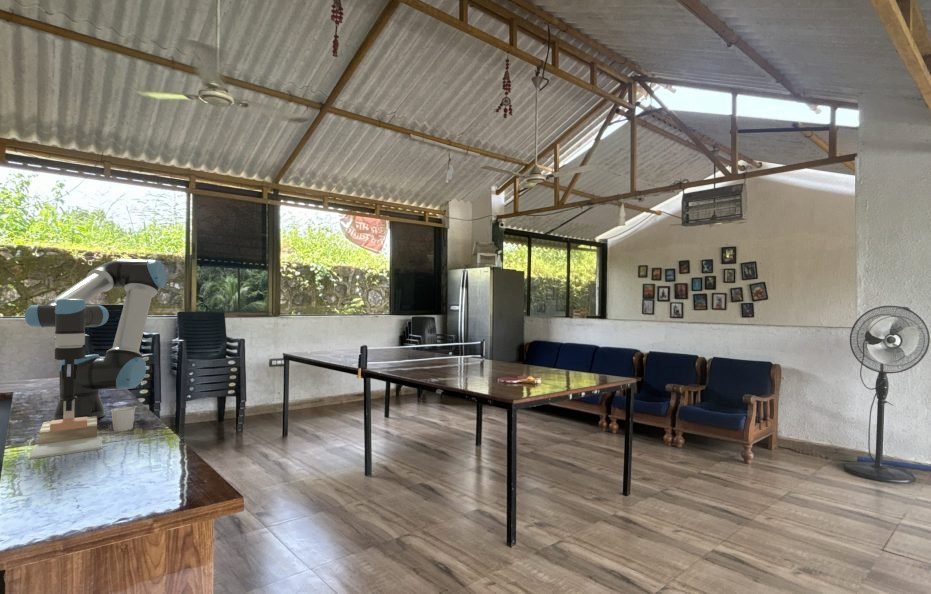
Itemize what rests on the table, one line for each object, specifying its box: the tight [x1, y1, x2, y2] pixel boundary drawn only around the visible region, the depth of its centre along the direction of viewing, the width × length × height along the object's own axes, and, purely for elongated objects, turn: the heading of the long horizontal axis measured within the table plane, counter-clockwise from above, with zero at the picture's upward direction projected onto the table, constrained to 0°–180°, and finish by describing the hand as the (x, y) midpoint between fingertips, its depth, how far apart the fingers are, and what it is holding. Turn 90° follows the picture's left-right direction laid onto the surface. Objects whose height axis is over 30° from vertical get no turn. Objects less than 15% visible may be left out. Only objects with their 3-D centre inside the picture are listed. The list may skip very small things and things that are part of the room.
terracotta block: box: [50, 417, 87, 432], centre depth 155 cm, size 6×9×2 cm, turn 127°
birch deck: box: [38, 416, 98, 445], centre depth 160 cm, size 16×14×4 cm
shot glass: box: [110, 406, 136, 432], centre depth 169 cm, size 7×7×7 cm
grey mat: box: [29, 436, 103, 460], centre depth 147 cm, size 14×16×1 cm
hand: (68, 420), depth 158 cm, fingers closed
